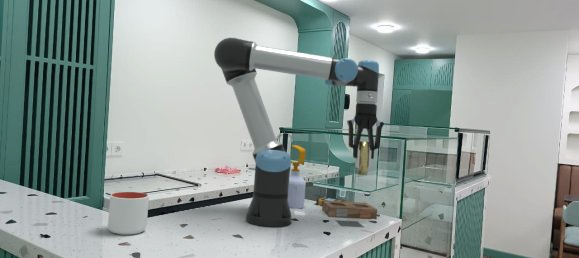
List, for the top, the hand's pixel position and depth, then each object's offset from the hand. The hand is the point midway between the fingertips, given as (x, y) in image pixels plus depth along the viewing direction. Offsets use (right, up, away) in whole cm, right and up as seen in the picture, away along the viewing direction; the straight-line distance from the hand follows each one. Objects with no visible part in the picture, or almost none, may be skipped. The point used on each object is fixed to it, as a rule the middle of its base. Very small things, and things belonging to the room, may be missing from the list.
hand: (362, 167), depth 151 cm
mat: (-6, -19, -9) cm, 22 cm away
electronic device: (-7, -19, +21) cm, 29 cm away
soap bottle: (-26, -17, +15) cm, 34 cm away
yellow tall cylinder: (0, -3, 0) cm, 3 cm away
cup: (-72, -14, -36) cm, 82 cm away
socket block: (-4, -19, +6) cm, 20 cm away
